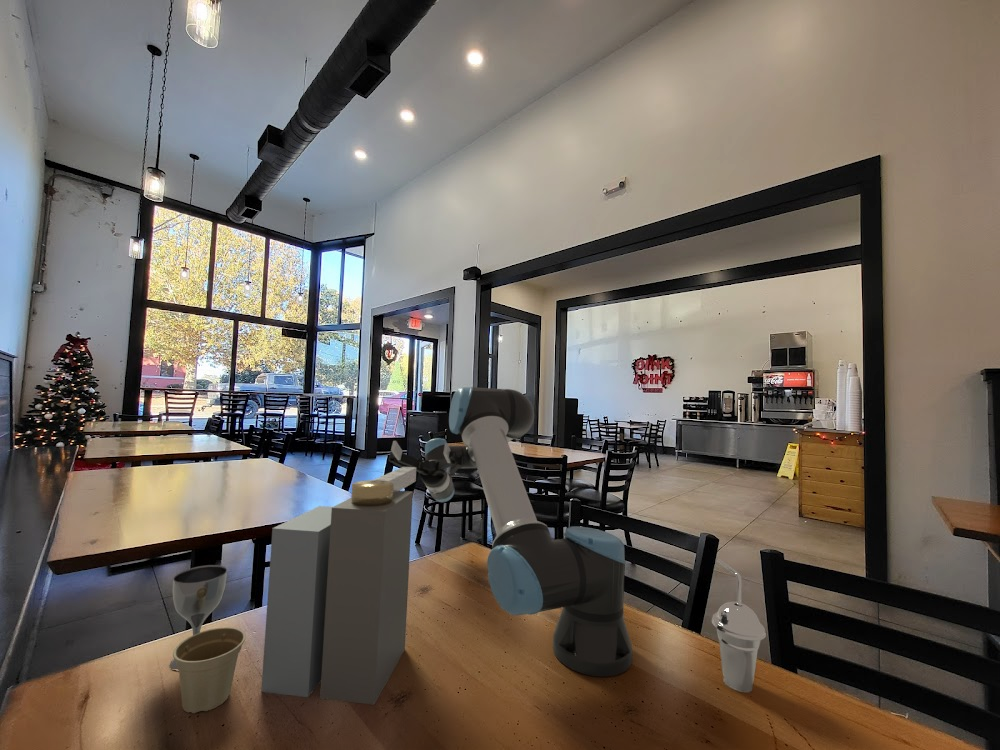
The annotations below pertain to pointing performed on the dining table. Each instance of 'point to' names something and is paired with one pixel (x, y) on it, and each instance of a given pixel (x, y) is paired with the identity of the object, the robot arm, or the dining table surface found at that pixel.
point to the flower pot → (208, 667)
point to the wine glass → (198, 594)
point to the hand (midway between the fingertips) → (419, 446)
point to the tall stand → (365, 598)
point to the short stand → (297, 604)
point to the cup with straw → (738, 640)
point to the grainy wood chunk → (382, 487)
